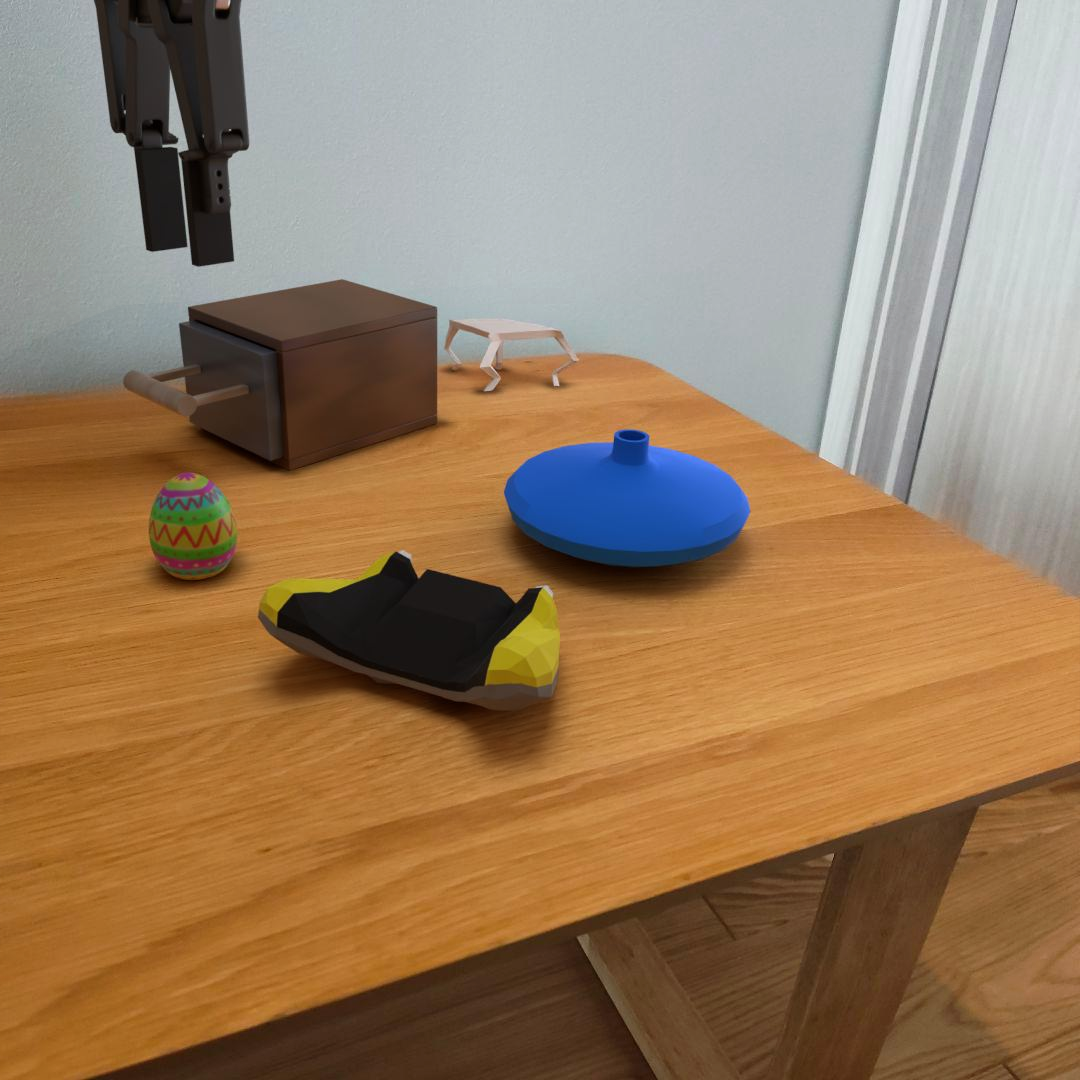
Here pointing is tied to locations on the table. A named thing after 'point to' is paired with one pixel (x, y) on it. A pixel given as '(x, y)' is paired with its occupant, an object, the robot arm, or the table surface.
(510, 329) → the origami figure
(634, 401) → the table surface
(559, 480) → the vase
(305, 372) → the cabinet
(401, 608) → the black and yellow shoe
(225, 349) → the drawer
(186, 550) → the egg
